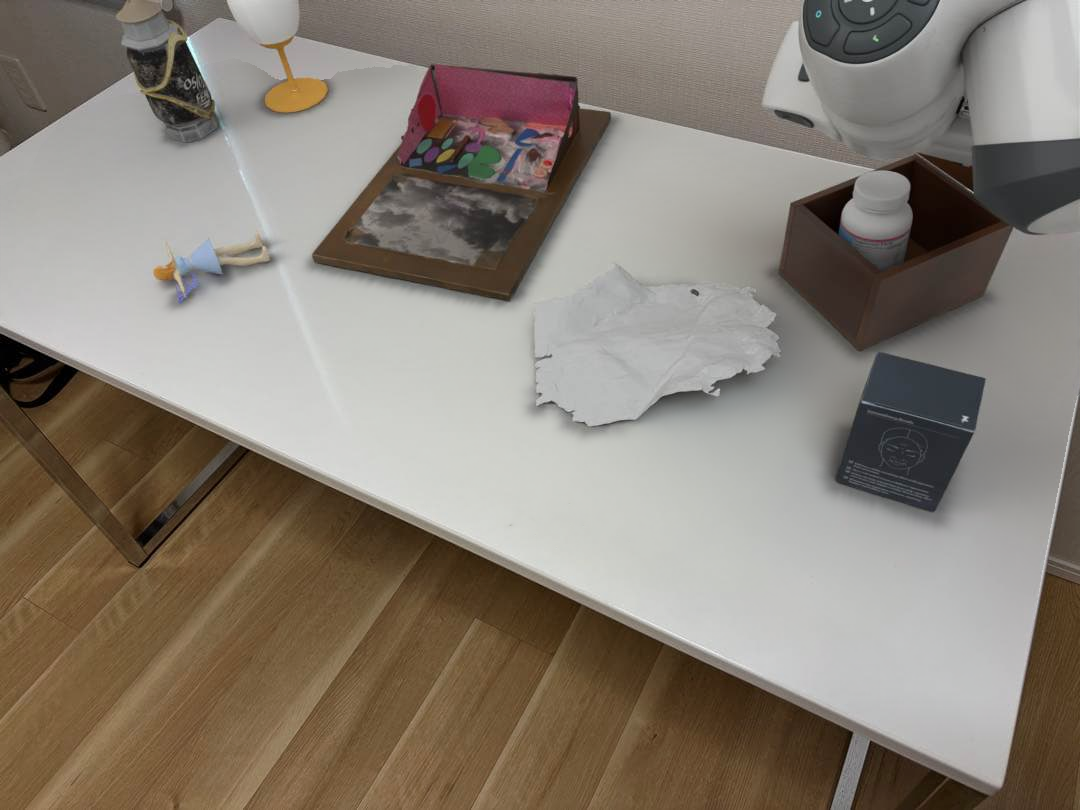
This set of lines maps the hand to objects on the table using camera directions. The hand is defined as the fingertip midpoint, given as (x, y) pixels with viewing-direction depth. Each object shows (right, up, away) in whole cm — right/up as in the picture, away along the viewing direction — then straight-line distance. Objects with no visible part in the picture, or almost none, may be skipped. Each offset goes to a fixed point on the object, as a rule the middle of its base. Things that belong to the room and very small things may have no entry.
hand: (905, 141), depth 68 cm
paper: (-20, -17, +10) cm, 28 cm away
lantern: (-79, +16, +45) cm, 92 cm away
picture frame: (-39, +4, +30) cm, 49 cm away
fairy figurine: (-67, -7, +24) cm, 72 cm away
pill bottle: (+1, -10, +12) cm, 16 cm away
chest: (+3, -10, +13) cm, 17 cm away
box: (-2, -28, -1) cm, 28 cm away
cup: (-65, +22, +48) cm, 84 cm away
